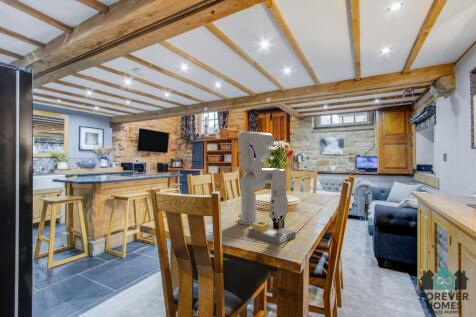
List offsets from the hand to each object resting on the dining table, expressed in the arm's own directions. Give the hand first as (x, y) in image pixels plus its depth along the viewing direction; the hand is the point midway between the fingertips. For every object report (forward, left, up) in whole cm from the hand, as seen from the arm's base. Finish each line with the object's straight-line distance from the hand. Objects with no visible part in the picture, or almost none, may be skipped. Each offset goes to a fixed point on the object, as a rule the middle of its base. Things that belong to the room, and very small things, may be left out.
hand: (278, 228), depth 118 cm
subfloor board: (-7, +3, -6) cm, 10 cm away
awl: (0, 0, -4) cm, 4 cm away
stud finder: (-12, 0, -3) cm, 13 cm away
